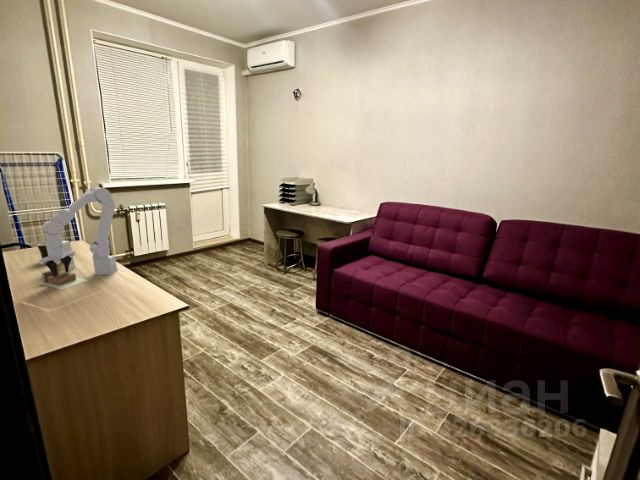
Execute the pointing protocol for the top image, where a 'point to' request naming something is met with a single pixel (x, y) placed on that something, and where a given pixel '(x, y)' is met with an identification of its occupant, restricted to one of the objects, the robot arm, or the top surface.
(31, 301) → the top surface
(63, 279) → the brown wooden square frame
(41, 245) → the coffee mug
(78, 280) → the board
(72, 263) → the skincare box
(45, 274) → the wall
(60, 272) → the dowel
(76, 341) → the top surface
